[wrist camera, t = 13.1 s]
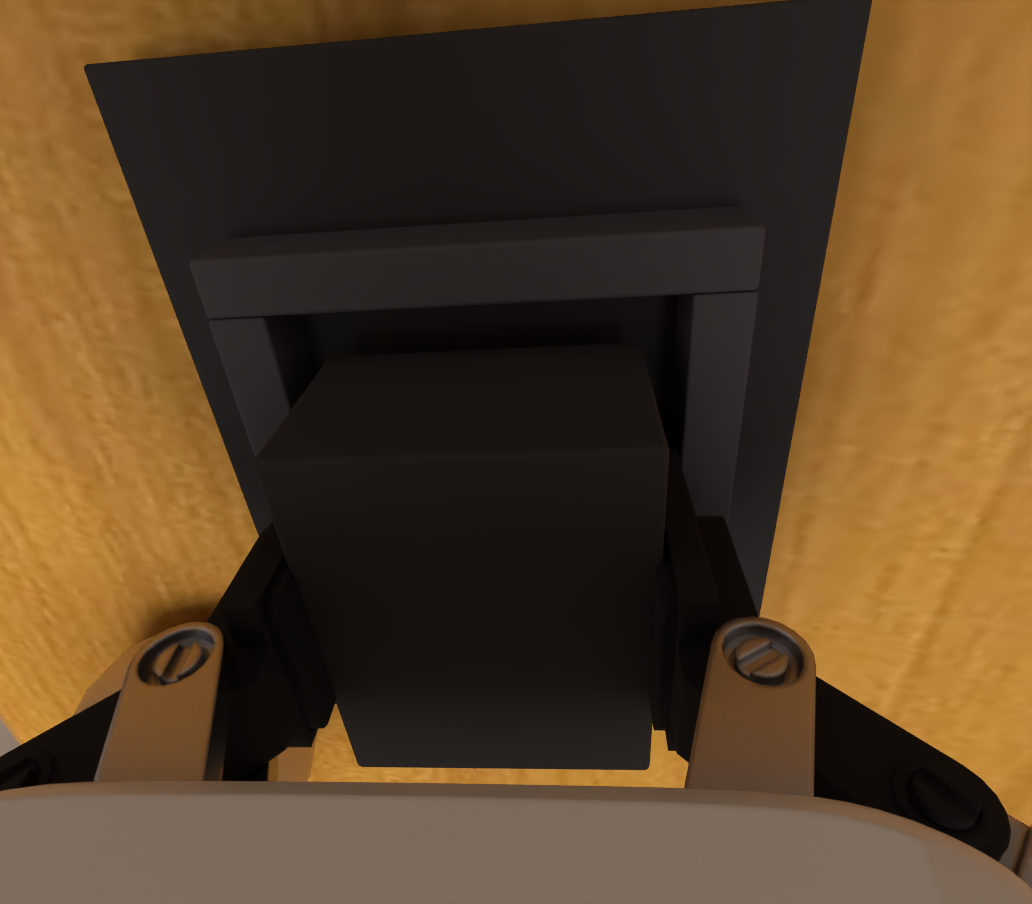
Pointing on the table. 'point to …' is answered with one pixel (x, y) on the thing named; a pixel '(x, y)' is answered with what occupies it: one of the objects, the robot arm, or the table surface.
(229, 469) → the table surface
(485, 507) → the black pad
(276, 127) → the base pad
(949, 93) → the table surface
